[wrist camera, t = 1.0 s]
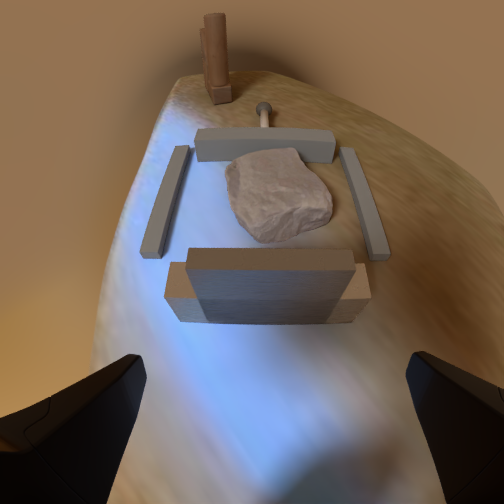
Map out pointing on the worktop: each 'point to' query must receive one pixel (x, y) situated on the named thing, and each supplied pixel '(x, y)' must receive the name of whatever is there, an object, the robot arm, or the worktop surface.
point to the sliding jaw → (267, 286)
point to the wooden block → (216, 58)
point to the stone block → (276, 195)
